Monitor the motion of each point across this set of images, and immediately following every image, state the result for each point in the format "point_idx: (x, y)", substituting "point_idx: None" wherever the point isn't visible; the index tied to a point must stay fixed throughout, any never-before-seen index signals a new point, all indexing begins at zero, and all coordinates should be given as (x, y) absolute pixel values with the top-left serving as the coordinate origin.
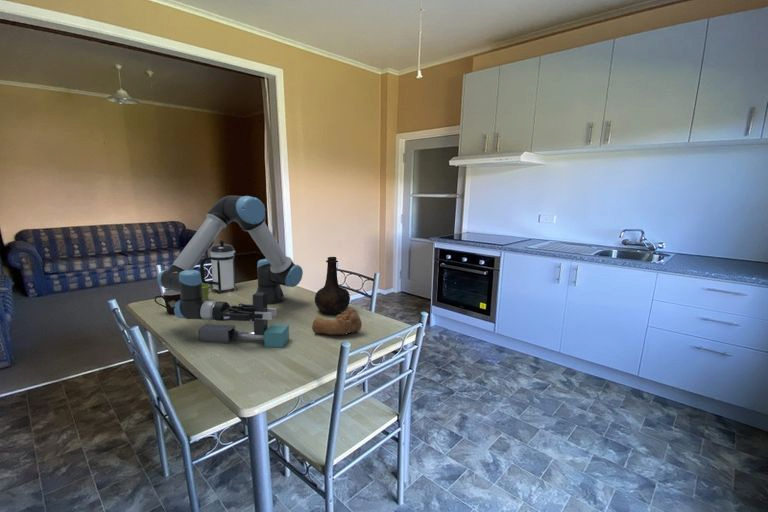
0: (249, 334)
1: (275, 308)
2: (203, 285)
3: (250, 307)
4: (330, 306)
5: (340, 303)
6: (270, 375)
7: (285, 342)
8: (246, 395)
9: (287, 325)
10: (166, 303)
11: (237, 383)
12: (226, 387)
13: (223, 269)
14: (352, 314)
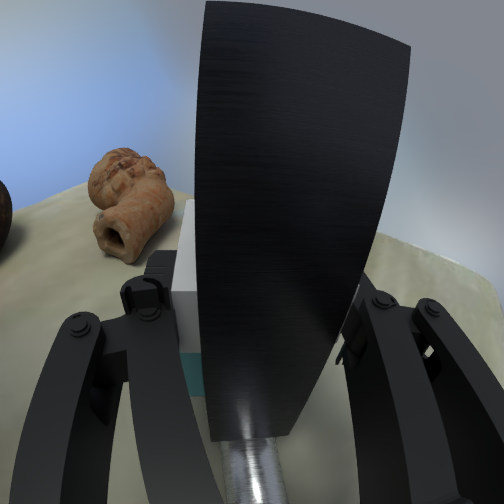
0: (279, 475)
1: (187, 201)
2: None
3: (162, 442)
4: (3, 220)
5: (10, 199)
6: (422, 288)
7: None
8: (480, 293)
9: None
10: None
11: (482, 325)
12: (500, 333)
13: None
14: (139, 156)
